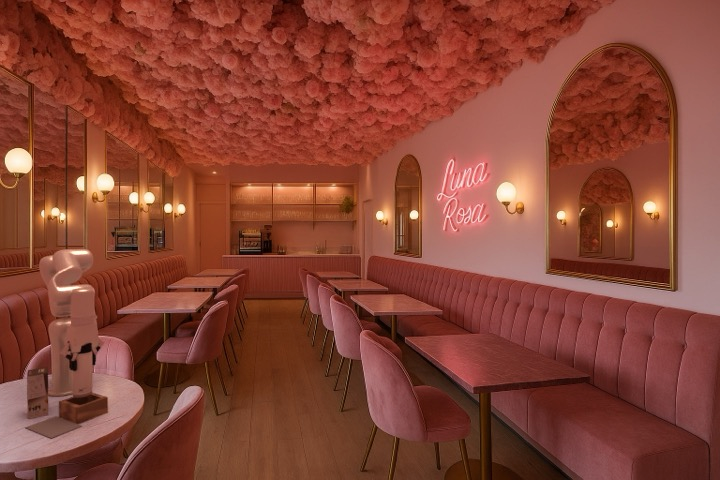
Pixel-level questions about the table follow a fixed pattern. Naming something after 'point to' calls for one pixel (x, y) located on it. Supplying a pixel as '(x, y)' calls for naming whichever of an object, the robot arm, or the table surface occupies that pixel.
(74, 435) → the table surface
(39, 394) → the coffee box
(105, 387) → the table surface
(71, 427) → the rubber mat
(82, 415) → the frame
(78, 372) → the travel mug
